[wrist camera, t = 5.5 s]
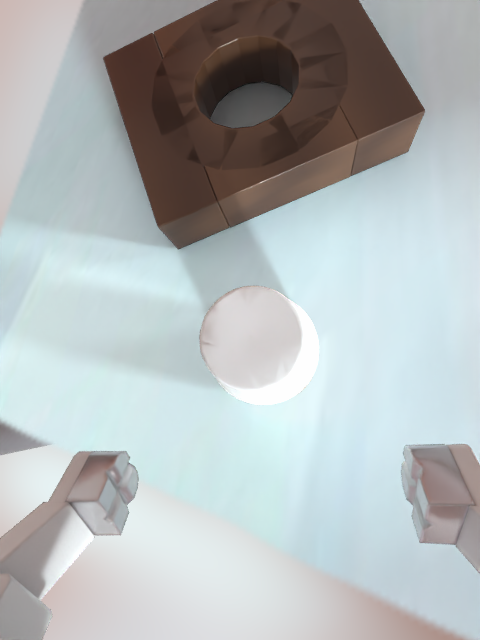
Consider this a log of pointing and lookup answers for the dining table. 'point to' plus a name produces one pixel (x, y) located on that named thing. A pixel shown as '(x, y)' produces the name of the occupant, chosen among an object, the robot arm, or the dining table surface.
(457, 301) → the dining table surface
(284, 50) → the socket pad
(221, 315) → the pill bottle
